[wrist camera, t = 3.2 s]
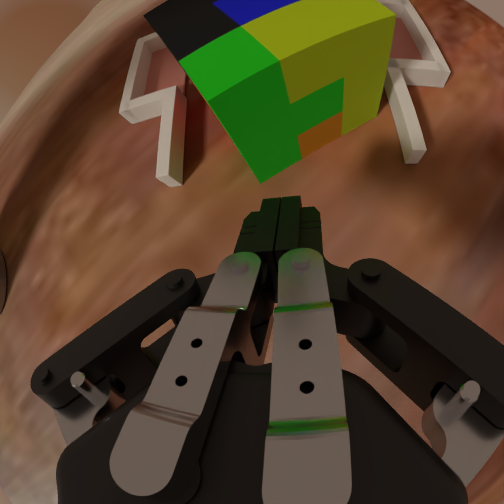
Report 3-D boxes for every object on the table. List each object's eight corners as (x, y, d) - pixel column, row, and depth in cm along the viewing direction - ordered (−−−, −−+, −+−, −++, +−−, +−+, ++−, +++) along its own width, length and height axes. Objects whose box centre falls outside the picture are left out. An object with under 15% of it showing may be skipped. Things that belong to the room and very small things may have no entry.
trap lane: (469, 163, 17) (481, 151, 14) (123, 196, 23) (107, 188, 21) (381, -22, 20) (381, -35, 18) (158, 11, 26) (151, 0, 24)
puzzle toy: (300, 42, 21) (280, -49, 11) (376, 116, 19) (396, 14, 9) (201, 95, 22) (143, 15, 13) (260, 184, 20) (207, 101, 10)
